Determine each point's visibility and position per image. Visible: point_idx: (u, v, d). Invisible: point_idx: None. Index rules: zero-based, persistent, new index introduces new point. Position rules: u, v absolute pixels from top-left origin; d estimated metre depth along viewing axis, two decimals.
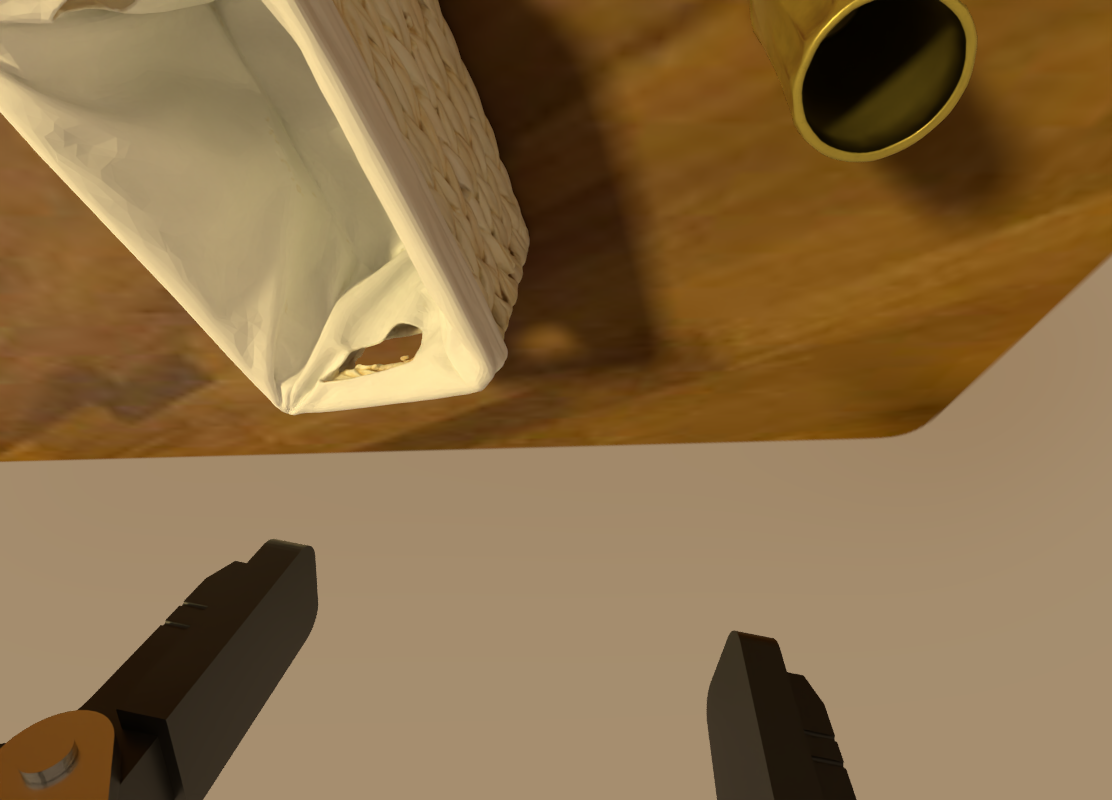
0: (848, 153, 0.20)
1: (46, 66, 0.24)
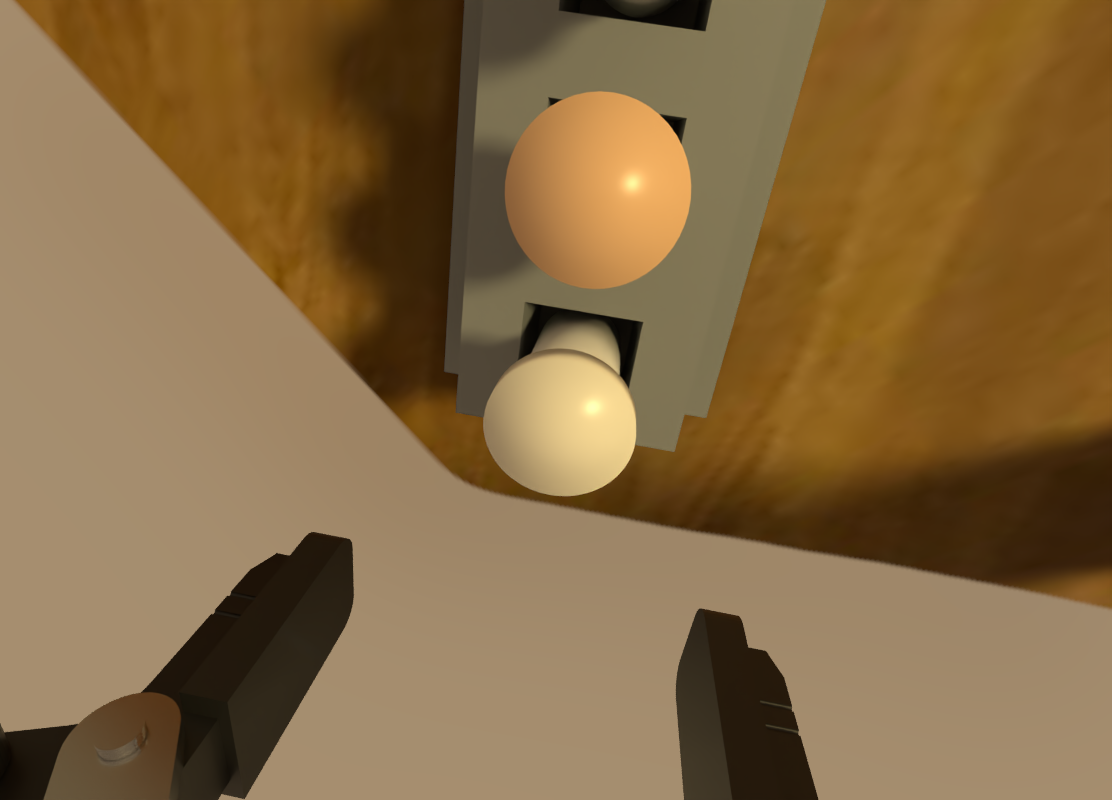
0: None
1: None
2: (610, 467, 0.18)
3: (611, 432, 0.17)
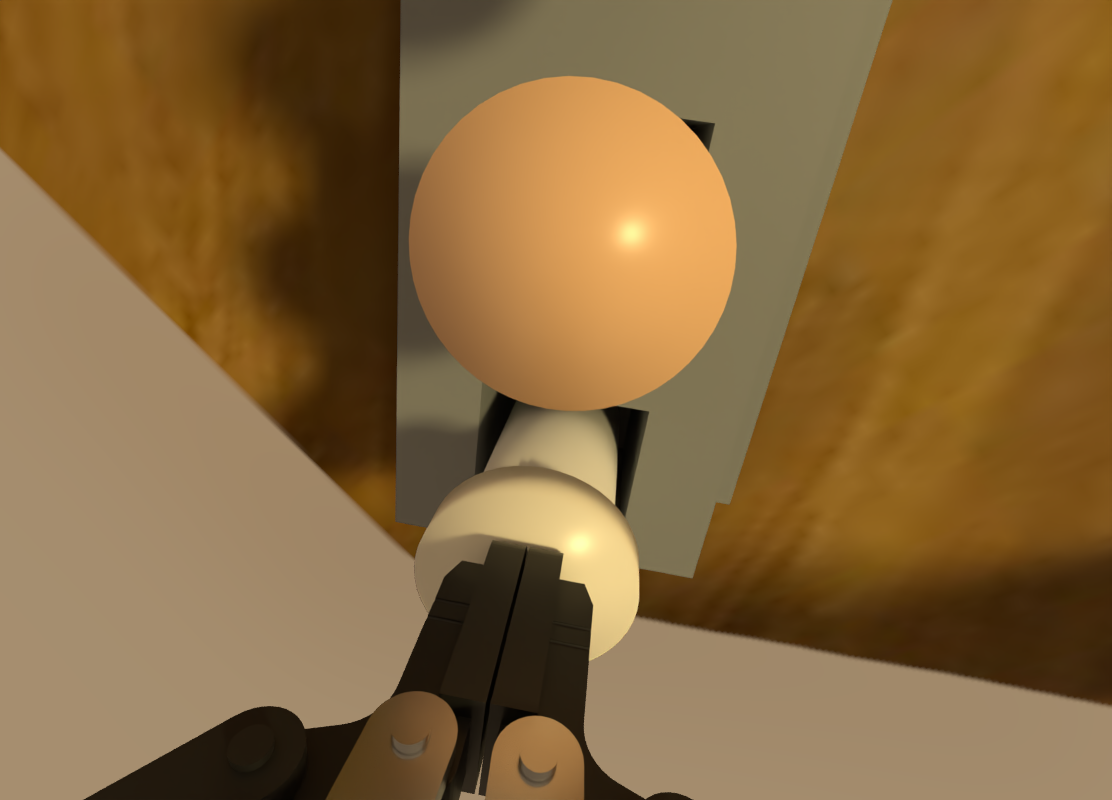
0: None
1: None
2: (601, 636, 0.12)
3: (602, 592, 0.12)
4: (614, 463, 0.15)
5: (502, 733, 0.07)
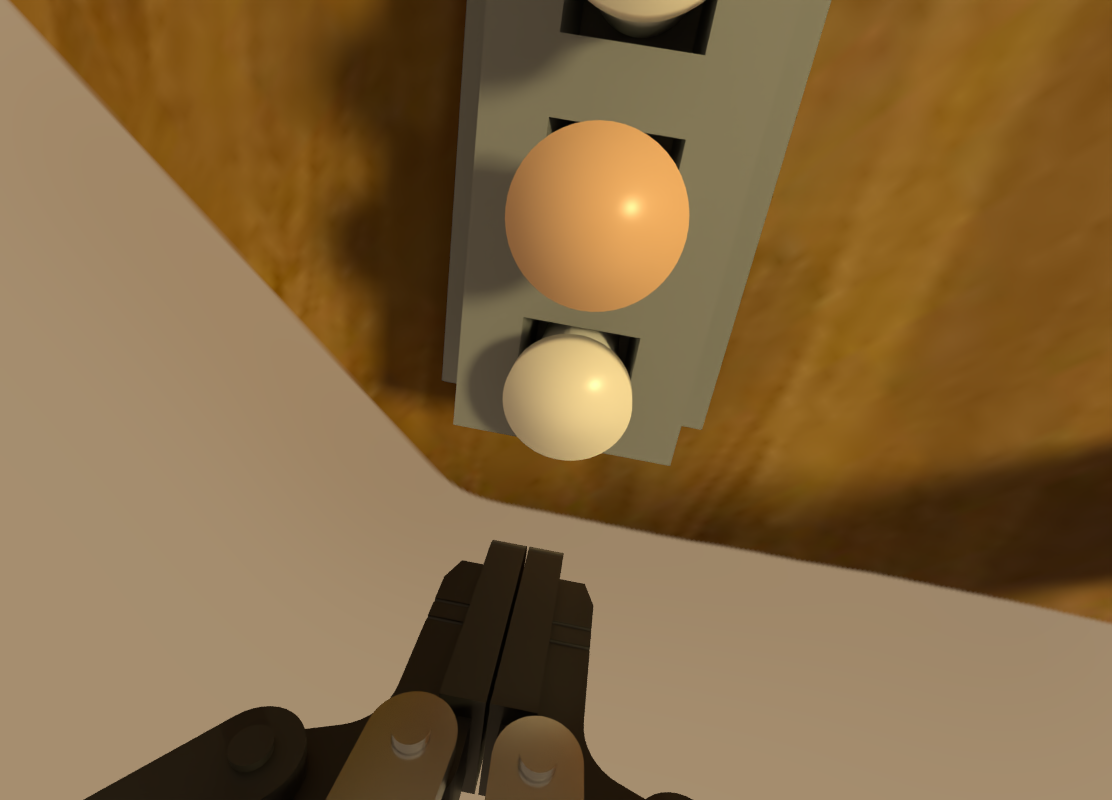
0: None
1: None
2: (610, 435, 0.21)
3: (611, 405, 0.21)
4: (616, 352, 0.24)
5: (502, 733, 0.07)
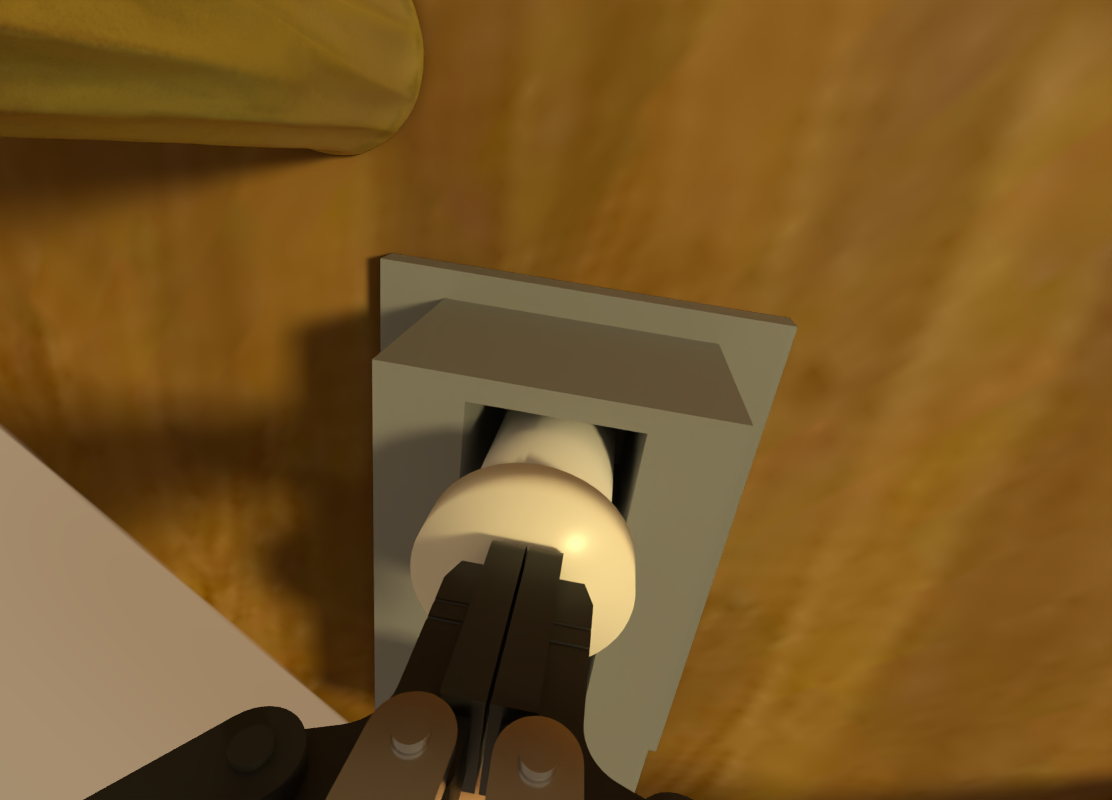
0: None
1: None
2: None
3: None
4: None
5: (502, 733, 0.07)
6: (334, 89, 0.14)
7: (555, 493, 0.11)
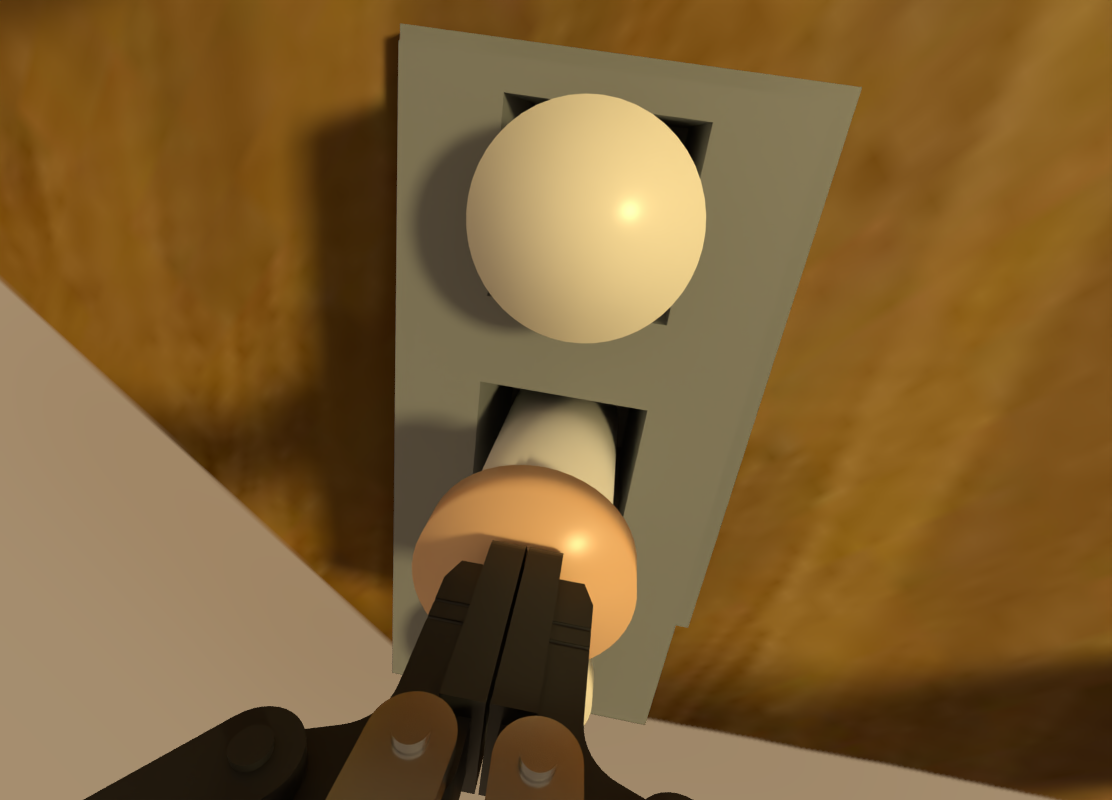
0: None
1: None
2: None
3: None
4: None
5: (502, 733, 0.07)
6: None
7: (625, 101, 0.10)
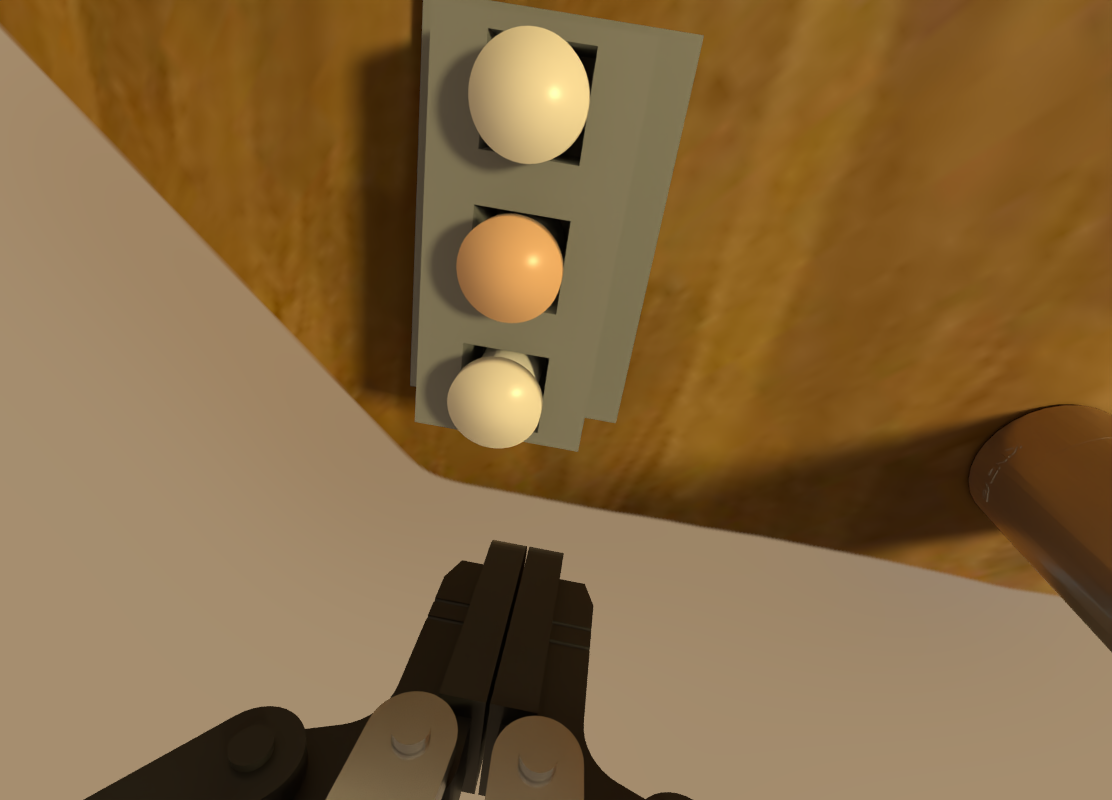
0: None
1: None
2: (526, 429, 0.29)
3: (525, 408, 0.28)
4: (538, 365, 0.32)
5: (502, 733, 0.07)
6: None
7: None
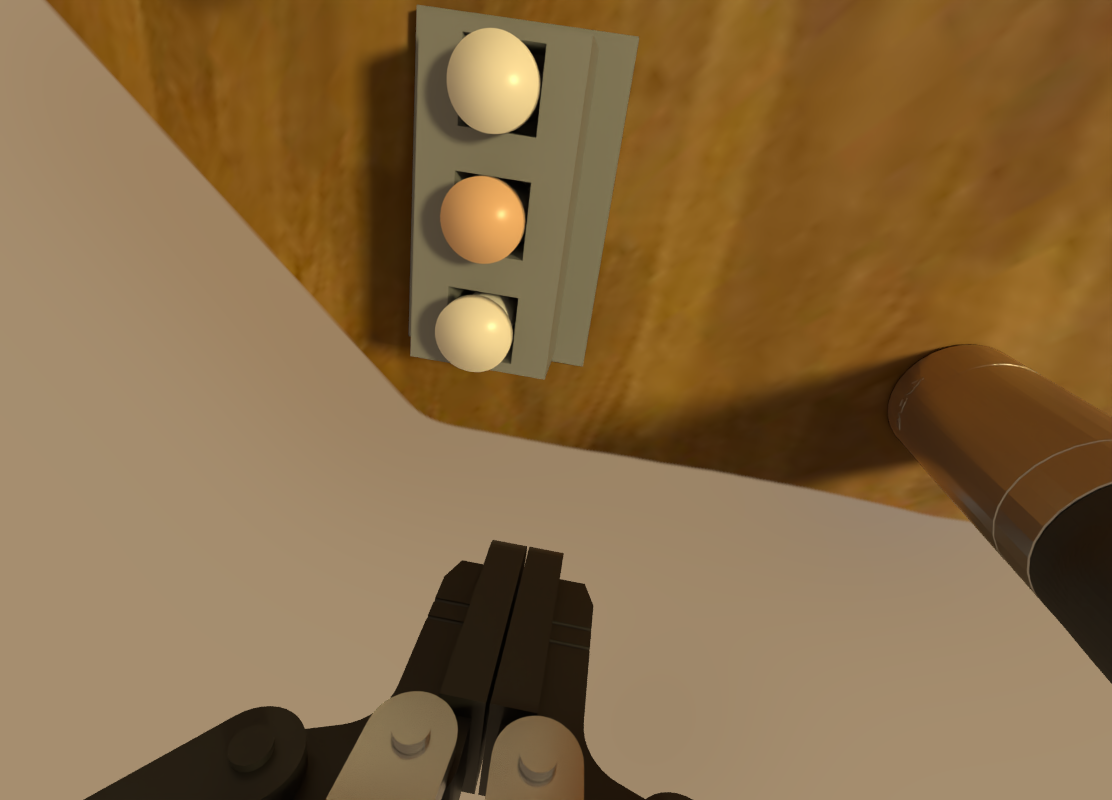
0: None
1: None
2: (499, 355, 0.36)
3: (497, 336, 0.35)
4: (512, 309, 0.39)
5: (502, 733, 0.07)
6: None
7: None
